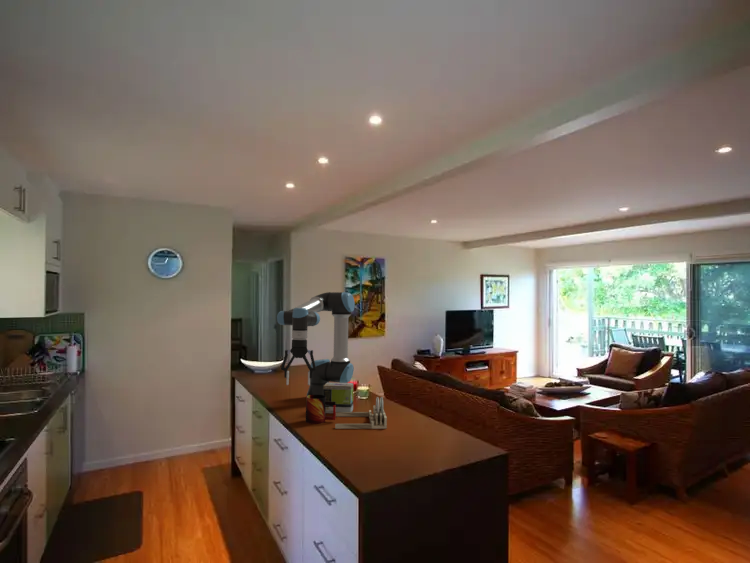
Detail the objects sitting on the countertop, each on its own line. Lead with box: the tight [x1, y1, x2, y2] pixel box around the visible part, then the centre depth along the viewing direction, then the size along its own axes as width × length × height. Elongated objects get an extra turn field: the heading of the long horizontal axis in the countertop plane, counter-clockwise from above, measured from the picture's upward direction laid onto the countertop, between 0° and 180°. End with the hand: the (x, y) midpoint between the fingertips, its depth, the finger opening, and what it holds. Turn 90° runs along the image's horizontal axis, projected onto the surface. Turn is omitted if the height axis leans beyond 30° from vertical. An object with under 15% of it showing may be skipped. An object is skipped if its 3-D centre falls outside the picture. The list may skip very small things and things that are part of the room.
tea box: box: [323, 382, 354, 414], centre depth 226 cm, size 15×10×15 cm
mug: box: [305, 395, 336, 425], centre depth 208 cm, size 10×14×12 cm
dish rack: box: [334, 396, 388, 430], centre depth 207 cm, size 22×24×12 cm
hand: (298, 384), depth 208 cm, fingers open, 10 cm apart
